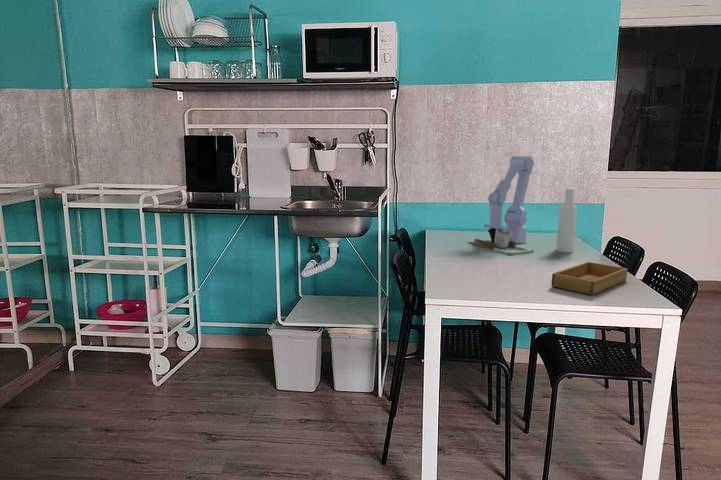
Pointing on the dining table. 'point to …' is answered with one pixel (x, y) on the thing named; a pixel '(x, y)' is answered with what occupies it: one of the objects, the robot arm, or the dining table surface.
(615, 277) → the tray
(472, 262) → the dining table surface
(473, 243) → the pad
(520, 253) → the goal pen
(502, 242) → the cup
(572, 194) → the bottle
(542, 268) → the dining table surface
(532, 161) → the robot arm
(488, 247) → the channel
